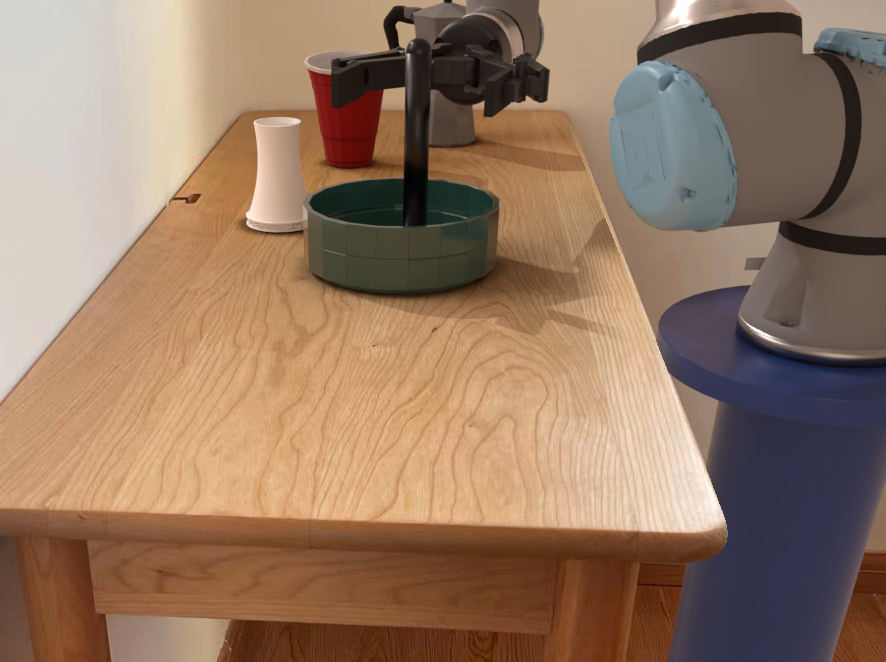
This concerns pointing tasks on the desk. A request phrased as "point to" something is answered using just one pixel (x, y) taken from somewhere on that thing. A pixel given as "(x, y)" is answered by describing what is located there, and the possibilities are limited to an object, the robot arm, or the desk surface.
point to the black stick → (416, 132)
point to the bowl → (400, 236)
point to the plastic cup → (344, 115)
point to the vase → (278, 177)
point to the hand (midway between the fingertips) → (410, 95)
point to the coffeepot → (445, 116)
